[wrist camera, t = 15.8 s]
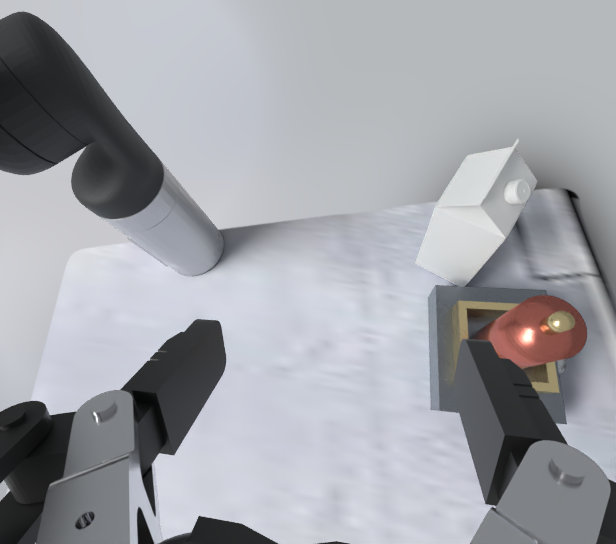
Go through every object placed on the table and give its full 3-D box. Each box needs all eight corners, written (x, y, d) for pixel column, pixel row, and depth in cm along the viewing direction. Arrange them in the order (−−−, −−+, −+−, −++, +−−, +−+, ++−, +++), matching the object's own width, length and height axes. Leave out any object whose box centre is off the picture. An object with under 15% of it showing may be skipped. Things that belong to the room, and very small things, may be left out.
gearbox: (430, 409, 40) (445, 410, 33) (428, 297, 45) (440, 276, 38) (554, 423, 38) (600, 427, 30) (537, 303, 43) (573, 281, 35)
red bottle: (471, 370, 36) (529, 352, 24) (468, 325, 38) (521, 285, 25) (521, 375, 36) (611, 359, 23) (516, 328, 37) (596, 288, 24)
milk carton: (414, 264, 47) (443, 181, 30) (438, 225, 49) (479, 125, 31) (462, 289, 45) (526, 216, 27) (486, 248, 46) (560, 153, 29)
